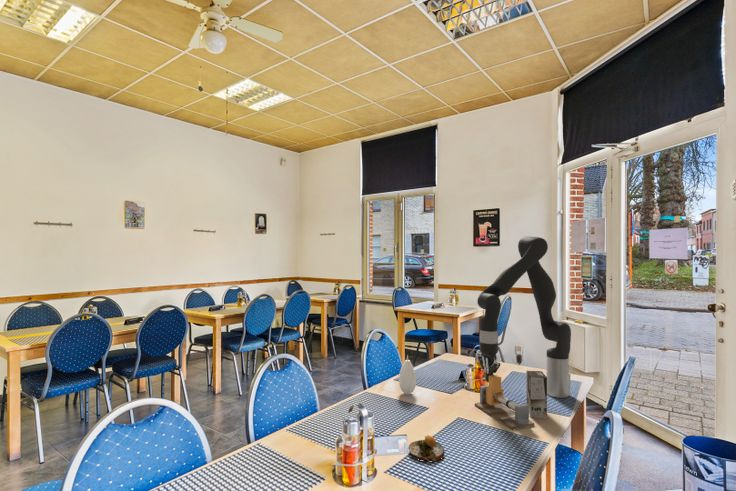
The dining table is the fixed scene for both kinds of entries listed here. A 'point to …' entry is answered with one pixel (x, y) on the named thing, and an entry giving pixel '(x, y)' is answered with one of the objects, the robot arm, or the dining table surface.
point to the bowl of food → (427, 449)
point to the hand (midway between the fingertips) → (488, 381)
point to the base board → (502, 415)
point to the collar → (494, 389)
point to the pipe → (520, 410)
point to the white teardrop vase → (407, 378)
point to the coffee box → (536, 393)
